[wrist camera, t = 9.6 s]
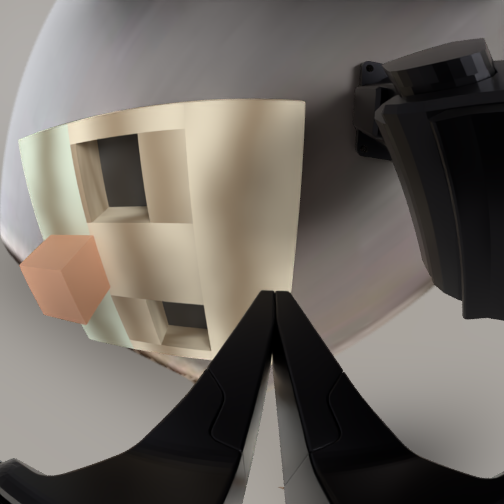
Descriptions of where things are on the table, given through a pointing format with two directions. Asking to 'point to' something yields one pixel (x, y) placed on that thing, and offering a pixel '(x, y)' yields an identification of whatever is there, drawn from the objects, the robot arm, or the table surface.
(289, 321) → the robot arm
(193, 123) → the cream flat piece
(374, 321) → the table surface
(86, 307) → the block
